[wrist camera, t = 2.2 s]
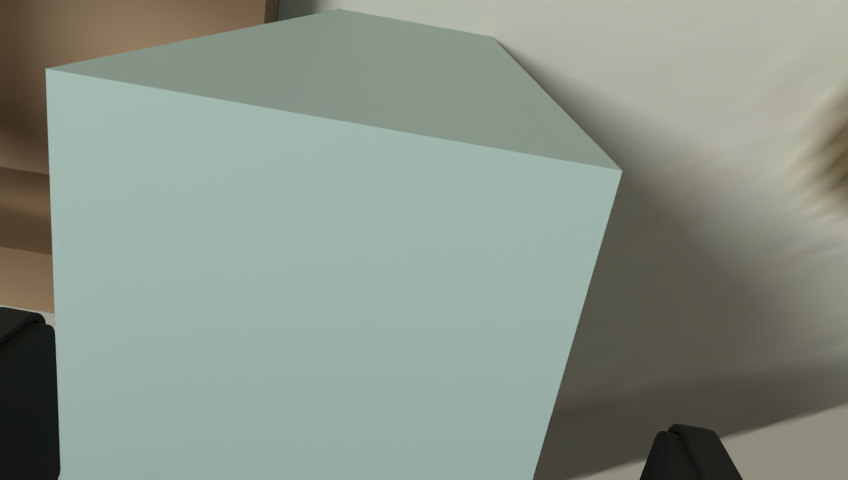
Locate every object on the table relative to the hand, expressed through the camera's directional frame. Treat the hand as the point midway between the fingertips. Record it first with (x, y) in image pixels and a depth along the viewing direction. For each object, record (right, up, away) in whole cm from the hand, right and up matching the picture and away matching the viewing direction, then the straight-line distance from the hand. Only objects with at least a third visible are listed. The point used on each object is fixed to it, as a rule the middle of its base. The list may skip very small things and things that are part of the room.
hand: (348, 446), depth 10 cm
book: (0, +4, +11) cm, 12 cm away
